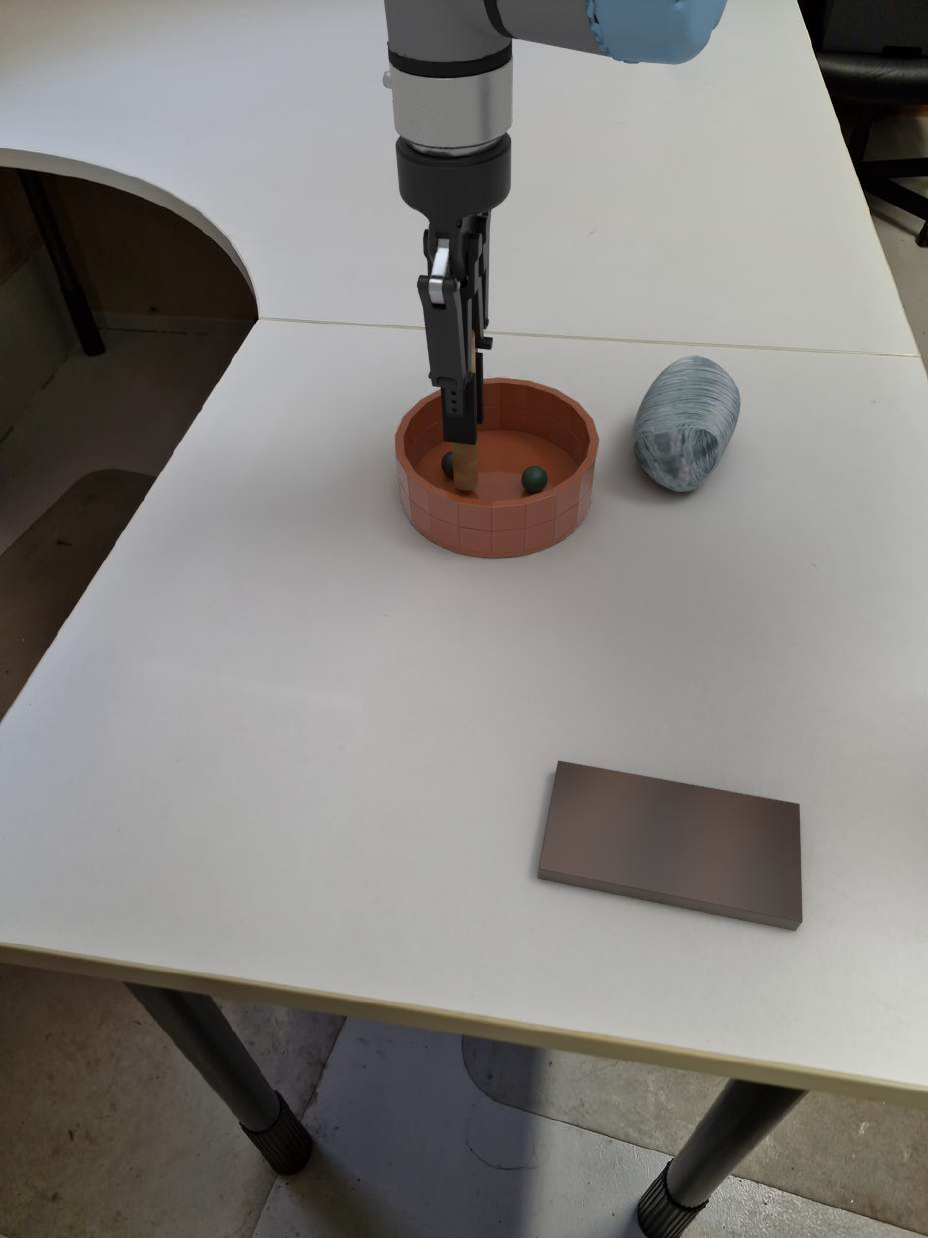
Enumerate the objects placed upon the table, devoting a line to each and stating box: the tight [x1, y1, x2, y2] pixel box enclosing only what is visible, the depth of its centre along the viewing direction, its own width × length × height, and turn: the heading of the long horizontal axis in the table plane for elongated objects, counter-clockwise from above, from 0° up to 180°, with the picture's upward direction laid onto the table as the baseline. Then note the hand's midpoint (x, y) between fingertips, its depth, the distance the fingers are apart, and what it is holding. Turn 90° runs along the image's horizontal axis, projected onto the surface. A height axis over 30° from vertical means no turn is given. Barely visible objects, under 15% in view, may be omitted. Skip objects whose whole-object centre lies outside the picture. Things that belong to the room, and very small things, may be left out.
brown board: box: [537, 760, 804, 931], centre depth 56 cm, size 16×8×2 cm, turn 77°
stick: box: [452, 330, 478, 490], centre depth 72 cm, size 2×2×15 cm
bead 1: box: [441, 451, 454, 477], centre depth 79 cm, size 2×2×2 cm
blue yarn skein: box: [631, 355, 741, 493], centre depth 78 cm, size 14×10×10 cm
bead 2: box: [521, 466, 548, 493], centre depth 77 cm, size 2×2×2 cm
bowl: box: [394, 376, 600, 559], centre depth 77 cm, size 18×18×6 cm
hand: (464, 429), depth 73 cm, fingers closed on stick, 2 cm apart
